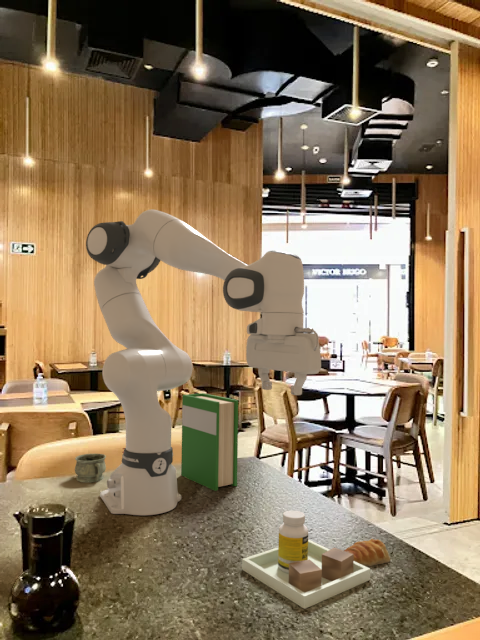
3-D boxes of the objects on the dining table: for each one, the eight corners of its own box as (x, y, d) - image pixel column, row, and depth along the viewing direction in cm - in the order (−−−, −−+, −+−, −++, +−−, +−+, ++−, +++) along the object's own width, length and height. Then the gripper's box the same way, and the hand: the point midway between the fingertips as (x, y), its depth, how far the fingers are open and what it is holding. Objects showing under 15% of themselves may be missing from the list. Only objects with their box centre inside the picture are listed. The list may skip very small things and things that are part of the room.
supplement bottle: (306, 576, 91) (307, 520, 91) (276, 573, 92) (276, 517, 92) (308, 563, 96) (309, 510, 97) (280, 559, 98) (280, 507, 98)
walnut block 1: (288, 586, 87) (288, 563, 87) (309, 582, 89) (309, 559, 89) (300, 598, 84) (300, 573, 84) (321, 594, 85) (321, 569, 85)
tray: (242, 572, 93) (242, 558, 94) (305, 550, 103) (305, 538, 103) (304, 612, 81) (304, 596, 81) (370, 583, 90) (370, 568, 90)
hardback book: (237, 486, 144) (238, 400, 145) (215, 491, 140) (216, 402, 140) (202, 471, 158) (203, 393, 159) (181, 475, 154) (182, 394, 154)
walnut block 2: (321, 577, 91) (321, 554, 91) (333, 569, 94) (334, 547, 94) (341, 585, 88) (341, 561, 88) (353, 576, 91) (353, 554, 91)
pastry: (354, 575, 94) (354, 554, 94) (331, 560, 100) (331, 540, 100) (393, 565, 98) (393, 545, 98) (369, 551, 104) (369, 532, 104)
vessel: (114, 480, 148) (114, 458, 148) (84, 486, 142) (85, 463, 142) (95, 471, 157) (95, 450, 157) (66, 476, 151) (67, 455, 151)
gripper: (328, 328, 104) (327, 397, 103) (263, 326, 120) (262, 386, 120) (306, 327, 100) (304, 399, 100) (242, 326, 116) (240, 387, 116)
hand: (281, 392), depth 110 cm, fingers open, 8 cm apart
